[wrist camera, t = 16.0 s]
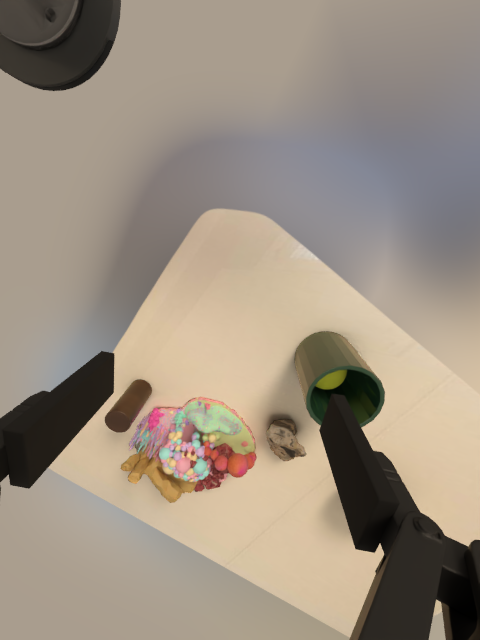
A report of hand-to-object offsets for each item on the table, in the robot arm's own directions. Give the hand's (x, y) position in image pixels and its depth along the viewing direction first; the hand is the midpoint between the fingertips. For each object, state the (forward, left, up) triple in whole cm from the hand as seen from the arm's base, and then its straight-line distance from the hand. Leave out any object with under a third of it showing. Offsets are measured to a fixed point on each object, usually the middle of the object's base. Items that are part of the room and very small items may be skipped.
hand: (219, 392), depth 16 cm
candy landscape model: (+36, -5, -33) cm, 49 cm away
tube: (+11, +17, -33) cm, 38 cm away
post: (+25, -17, -33) cm, 45 cm away
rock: (+29, +13, -33) cm, 46 cm away
